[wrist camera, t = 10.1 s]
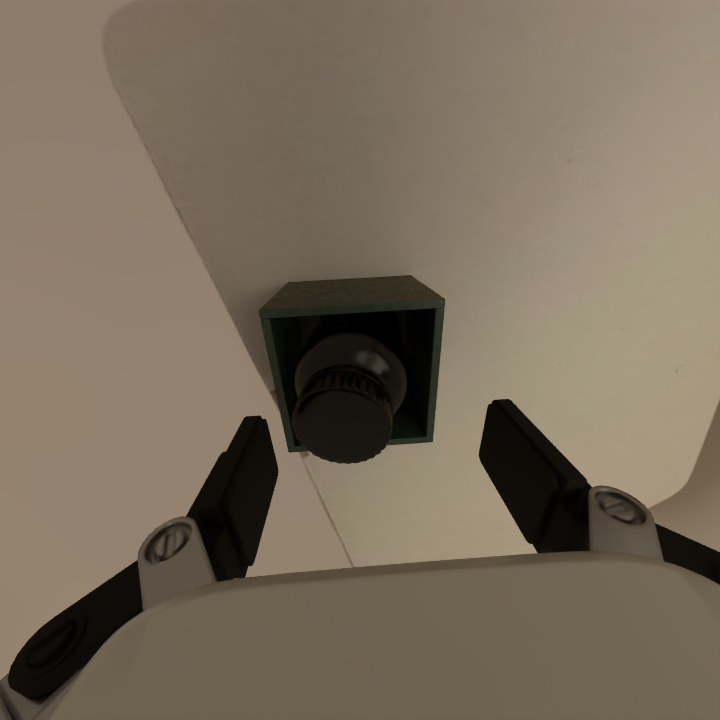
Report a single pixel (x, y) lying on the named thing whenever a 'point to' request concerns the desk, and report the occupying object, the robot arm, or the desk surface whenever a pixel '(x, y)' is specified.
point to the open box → (360, 295)
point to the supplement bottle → (350, 385)
